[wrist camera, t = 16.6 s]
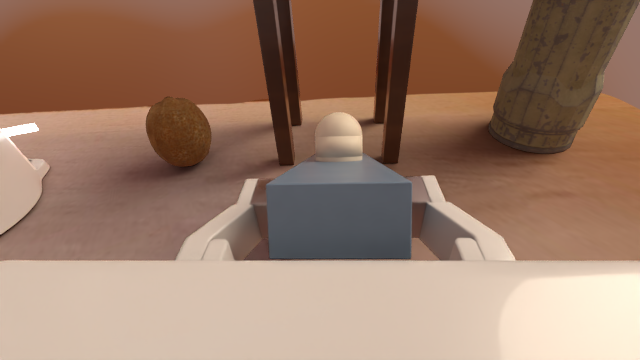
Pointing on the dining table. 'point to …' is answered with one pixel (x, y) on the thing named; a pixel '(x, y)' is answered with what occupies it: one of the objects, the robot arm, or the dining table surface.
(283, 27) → the crate stand
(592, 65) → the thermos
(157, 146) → the fruit
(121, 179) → the dining table surface
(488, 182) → the dining table surface
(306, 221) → the egg holder
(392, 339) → the robot arm
